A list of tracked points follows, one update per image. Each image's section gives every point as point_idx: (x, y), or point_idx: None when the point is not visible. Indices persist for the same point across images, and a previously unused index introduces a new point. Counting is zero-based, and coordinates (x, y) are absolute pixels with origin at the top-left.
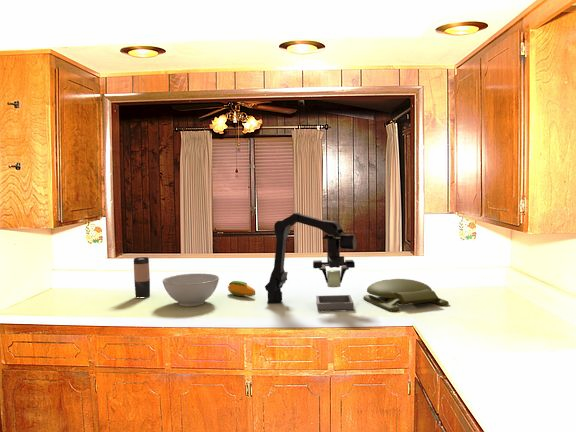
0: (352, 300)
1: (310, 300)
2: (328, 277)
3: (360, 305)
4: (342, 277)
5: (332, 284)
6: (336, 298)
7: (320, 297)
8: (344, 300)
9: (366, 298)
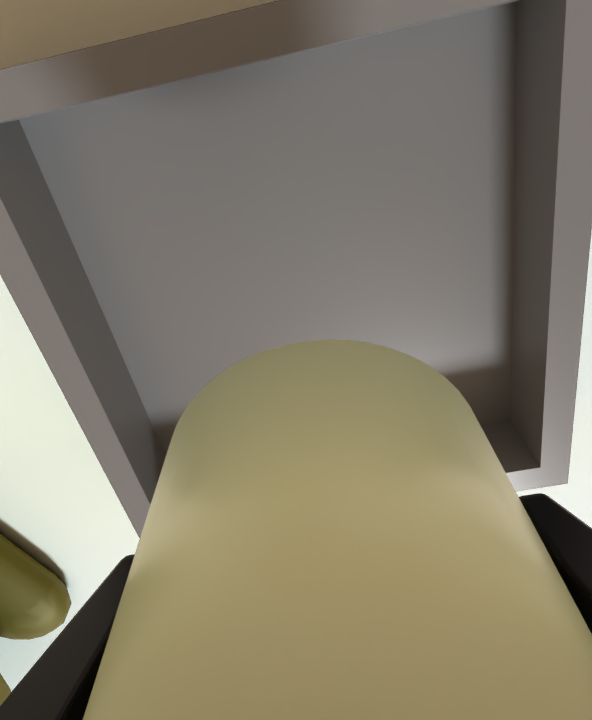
0: (5, 282)
1: (581, 507)
2: (579, 629)
3: (10, 380)
4: (11, 709)
5: (355, 382)
6: None
7: (506, 459)
8: None
9: (8, 562)
